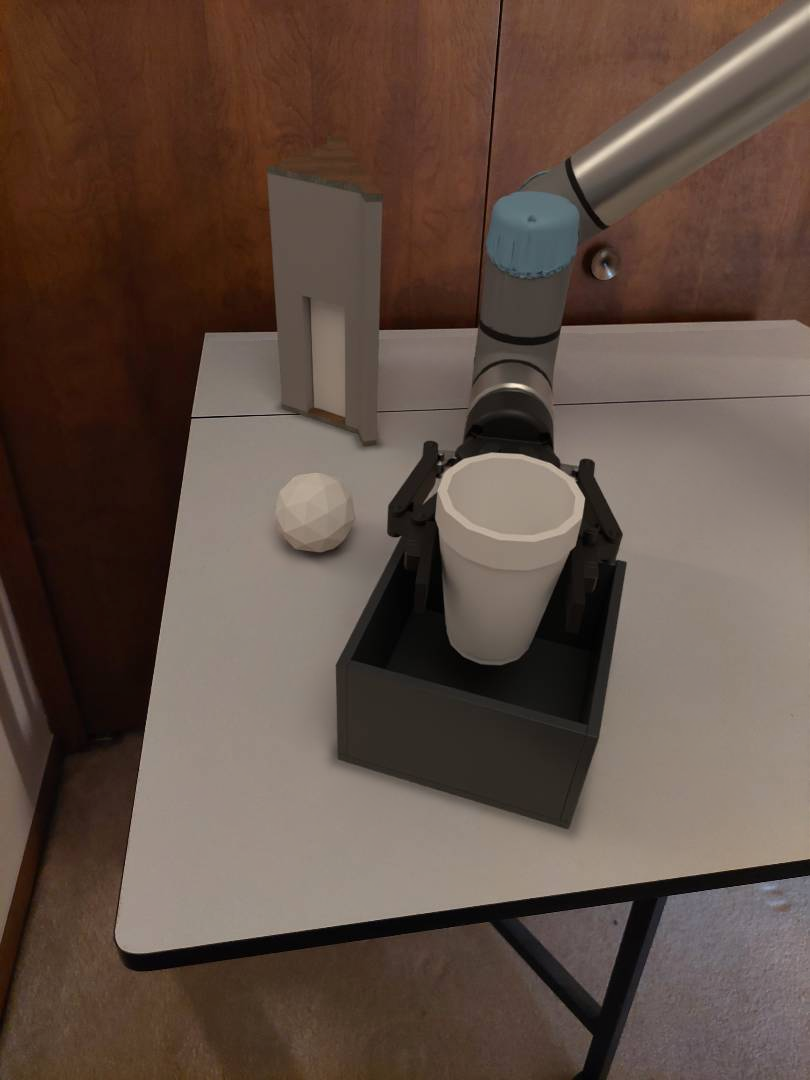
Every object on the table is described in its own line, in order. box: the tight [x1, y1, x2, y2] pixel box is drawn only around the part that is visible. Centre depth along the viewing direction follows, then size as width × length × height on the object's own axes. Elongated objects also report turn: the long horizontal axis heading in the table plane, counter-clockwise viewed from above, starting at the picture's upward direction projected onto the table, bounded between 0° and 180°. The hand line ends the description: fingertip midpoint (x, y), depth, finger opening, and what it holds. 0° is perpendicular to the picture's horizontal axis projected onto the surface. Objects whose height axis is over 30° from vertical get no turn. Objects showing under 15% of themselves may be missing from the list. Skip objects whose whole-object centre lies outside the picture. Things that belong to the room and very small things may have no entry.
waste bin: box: [335, 532, 628, 830], centre depth 62 cm, size 18×18×11 cm
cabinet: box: [266, 135, 383, 447], centre depth 91 cm, size 21×10×28 cm, turn 14°
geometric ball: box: [273, 472, 356, 553], centre depth 77 cm, size 8×8×8 cm
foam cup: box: [435, 453, 585, 665], centre depth 56 cm, size 10×9×13 cm
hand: (497, 608), depth 52 cm, fingers closed on foam cup, 9 cm apart
